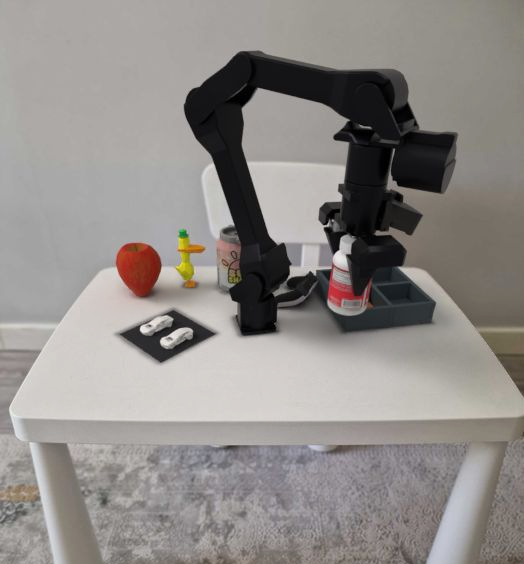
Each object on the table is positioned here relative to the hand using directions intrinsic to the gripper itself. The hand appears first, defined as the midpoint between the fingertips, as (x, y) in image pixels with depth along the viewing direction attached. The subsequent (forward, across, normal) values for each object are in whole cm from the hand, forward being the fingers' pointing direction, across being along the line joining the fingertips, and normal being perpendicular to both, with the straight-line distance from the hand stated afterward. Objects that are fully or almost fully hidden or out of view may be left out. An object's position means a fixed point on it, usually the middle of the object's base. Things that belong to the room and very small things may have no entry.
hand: (349, 285), depth 69 cm
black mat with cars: (+13, +11, +28) cm, 33 cm away
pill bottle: (+4, 0, 0) cm, 4 cm away
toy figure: (+13, +29, +23) cm, 39 cm away
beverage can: (+13, +28, +13) cm, 33 cm away
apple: (+13, +27, +33) cm, 44 cm away
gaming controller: (+13, +20, +2) cm, 24 cm away
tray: (+13, +15, -12) cm, 23 cm away
